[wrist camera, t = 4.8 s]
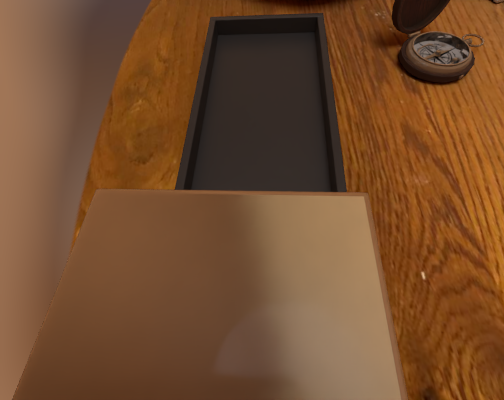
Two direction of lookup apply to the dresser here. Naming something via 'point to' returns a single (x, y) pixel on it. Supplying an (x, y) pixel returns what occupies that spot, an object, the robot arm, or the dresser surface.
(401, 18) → the compass
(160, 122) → the dresser surface
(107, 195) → the packet
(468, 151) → the dresser surface
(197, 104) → the tray
